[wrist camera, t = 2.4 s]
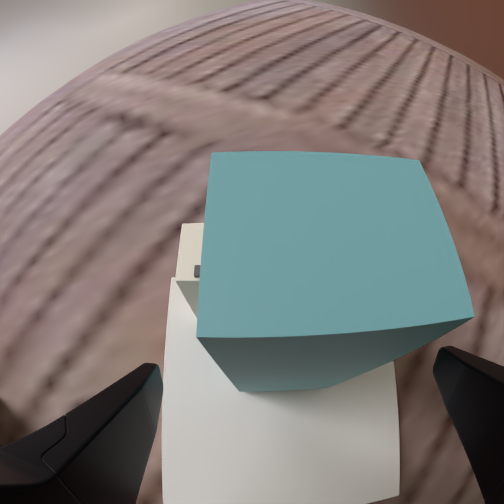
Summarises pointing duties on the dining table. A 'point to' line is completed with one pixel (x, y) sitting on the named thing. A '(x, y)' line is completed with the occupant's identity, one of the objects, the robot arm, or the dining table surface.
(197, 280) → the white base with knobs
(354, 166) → the tall teal pillar
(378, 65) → the dining table surface
